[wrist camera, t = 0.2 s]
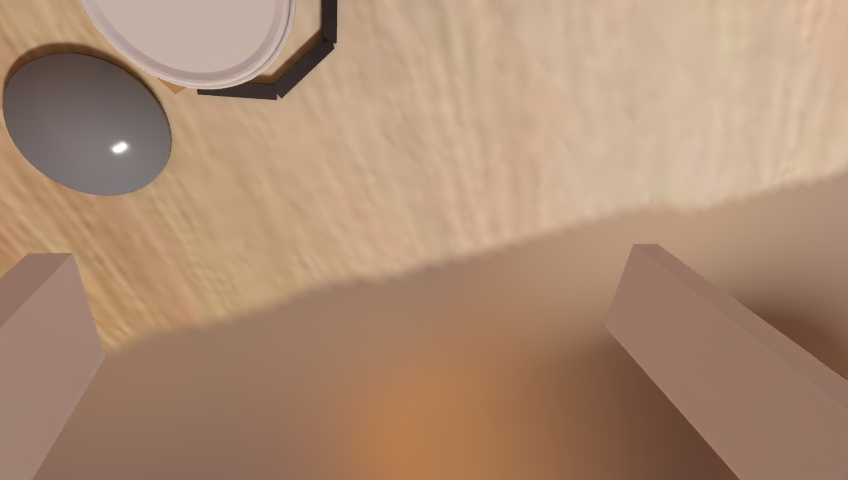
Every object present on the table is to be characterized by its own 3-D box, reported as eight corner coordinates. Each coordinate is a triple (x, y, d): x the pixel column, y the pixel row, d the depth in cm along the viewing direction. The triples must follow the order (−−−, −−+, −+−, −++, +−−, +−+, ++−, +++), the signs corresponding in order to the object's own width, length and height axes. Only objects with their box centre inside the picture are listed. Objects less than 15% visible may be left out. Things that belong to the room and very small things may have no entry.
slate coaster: (-14, 45, 28) (-20, 46, 28) (159, 60, 30) (157, 61, 30) (32, 190, 33) (28, 194, 32) (180, 194, 35) (178, 197, 34)
